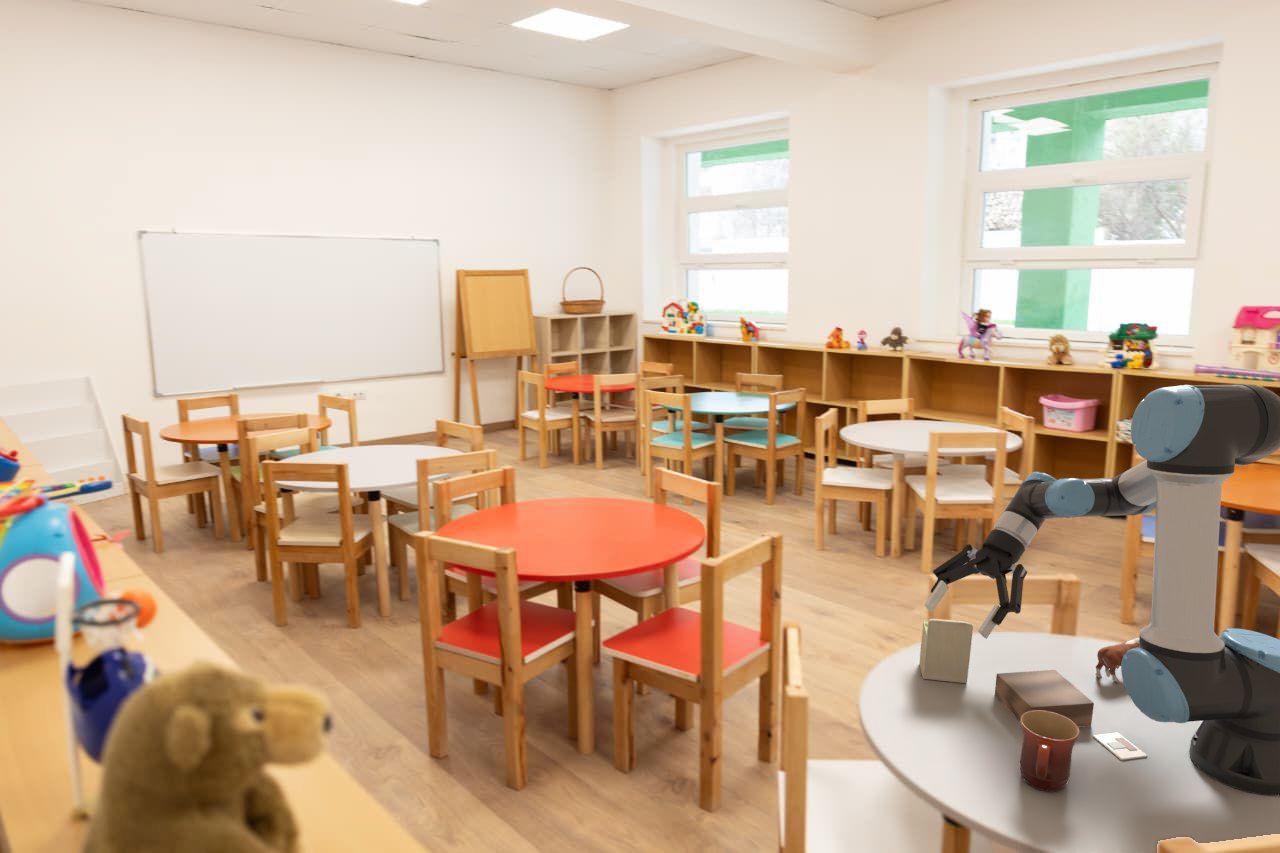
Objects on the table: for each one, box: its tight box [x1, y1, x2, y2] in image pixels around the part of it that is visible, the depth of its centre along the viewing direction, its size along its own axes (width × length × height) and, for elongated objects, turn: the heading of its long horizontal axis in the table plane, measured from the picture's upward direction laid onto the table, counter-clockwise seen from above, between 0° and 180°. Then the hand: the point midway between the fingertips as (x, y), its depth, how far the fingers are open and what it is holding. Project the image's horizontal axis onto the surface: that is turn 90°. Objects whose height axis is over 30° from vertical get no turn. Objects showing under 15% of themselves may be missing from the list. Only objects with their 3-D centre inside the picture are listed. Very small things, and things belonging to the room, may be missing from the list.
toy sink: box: [919, 618, 974, 684], centre depth 172 cm, size 8×7×13 cm
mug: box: [1019, 710, 1081, 793], centre depth 137 cm, size 12×9×10 cm
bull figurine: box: [1095, 637, 1140, 683], centre depth 171 cm, size 4×13×8 cm, turn 103°
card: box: [1092, 731, 1148, 761], centre depth 148 cm, size 7×5×1 cm
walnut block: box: [994, 669, 1095, 728], centre depth 159 cm, size 12×12×5 cm
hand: (954, 621), depth 174 cm, fingers open, 13 cm apart
